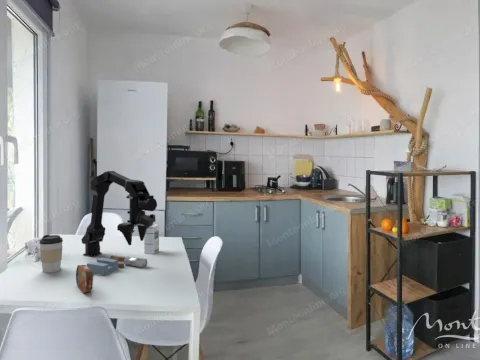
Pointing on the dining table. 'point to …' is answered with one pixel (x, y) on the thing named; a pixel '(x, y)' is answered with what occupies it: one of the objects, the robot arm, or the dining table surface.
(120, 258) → the guide channel
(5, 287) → the dining table surface
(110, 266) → the v block
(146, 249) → the syrup box
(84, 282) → the tin
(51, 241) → the coffee cup
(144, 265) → the axle
